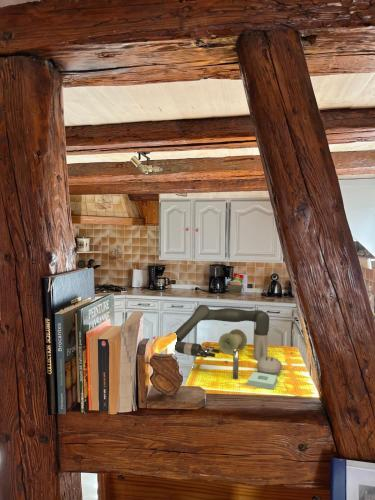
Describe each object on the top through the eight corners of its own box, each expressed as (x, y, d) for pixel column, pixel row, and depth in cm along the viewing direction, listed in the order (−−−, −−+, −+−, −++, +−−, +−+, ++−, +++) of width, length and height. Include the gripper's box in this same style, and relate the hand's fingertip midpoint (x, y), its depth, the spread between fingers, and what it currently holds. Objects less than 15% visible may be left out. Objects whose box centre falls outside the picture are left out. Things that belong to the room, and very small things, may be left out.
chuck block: (253, 376, 201) (253, 371, 201) (277, 380, 195) (277, 375, 195) (247, 385, 188) (247, 379, 188) (273, 389, 182) (273, 384, 182)
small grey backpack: (257, 365, 221) (255, 376, 202) (258, 352, 221) (255, 362, 201) (281, 368, 217) (281, 379, 197) (281, 355, 217) (281, 365, 197)
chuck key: (234, 375, 202) (235, 346, 202) (239, 376, 200) (240, 347, 200) (231, 379, 195) (231, 349, 195) (236, 380, 194) (237, 350, 194)
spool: (237, 356, 238) (237, 335, 238) (218, 352, 246) (218, 332, 246) (246, 350, 252) (247, 330, 252) (228, 347, 260) (228, 327, 260)
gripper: (188, 346, 202) (213, 350, 196) (197, 340, 215) (221, 344, 209) (187, 358, 202) (213, 363, 196) (196, 352, 215) (220, 356, 209)
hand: (217, 353), depth 202 cm, fingers open, 8 cm apart
